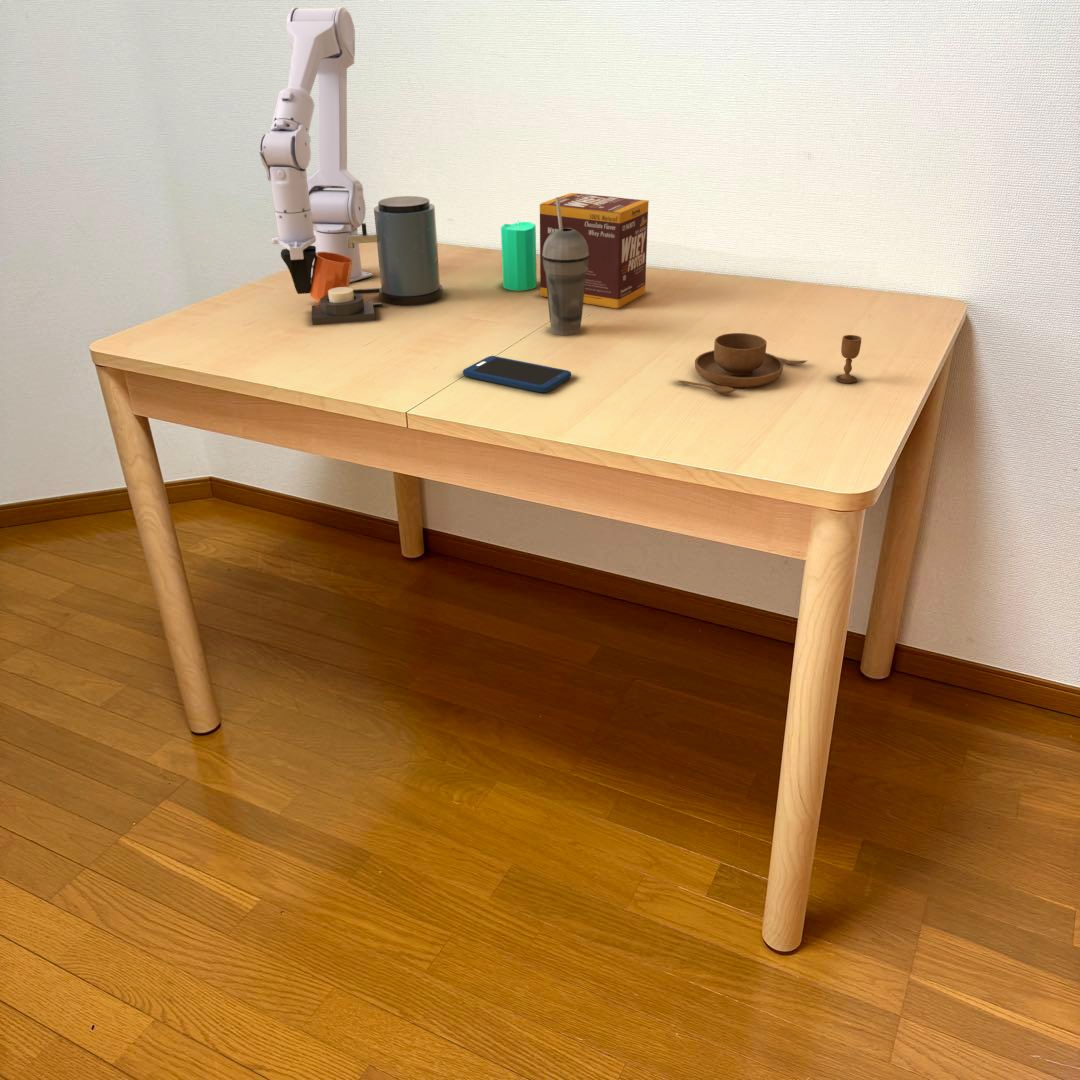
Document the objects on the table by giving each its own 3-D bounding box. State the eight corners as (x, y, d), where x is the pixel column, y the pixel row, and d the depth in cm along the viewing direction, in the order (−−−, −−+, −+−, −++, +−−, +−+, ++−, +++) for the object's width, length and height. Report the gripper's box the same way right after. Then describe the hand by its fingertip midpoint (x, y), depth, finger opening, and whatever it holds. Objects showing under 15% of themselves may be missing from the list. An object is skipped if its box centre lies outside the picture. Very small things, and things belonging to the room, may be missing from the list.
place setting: (733, 348, 149) (736, 309, 146) (862, 378, 138) (868, 336, 135) (667, 383, 138) (669, 341, 135) (802, 418, 127) (807, 373, 124)
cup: (301, 292, 172) (307, 251, 169) (329, 291, 177) (335, 251, 174) (326, 304, 169) (332, 263, 166) (353, 303, 174) (360, 262, 171)
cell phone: (490, 359, 147) (490, 354, 146) (573, 376, 140) (573, 371, 140) (460, 375, 141) (460, 370, 141) (545, 393, 135) (545, 388, 134)
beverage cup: (585, 339, 154) (585, 203, 144) (538, 337, 156) (535, 202, 146) (592, 324, 160) (593, 193, 151) (547, 322, 162) (545, 191, 152)
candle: (538, 281, 183) (537, 212, 177) (534, 290, 177) (533, 220, 172) (505, 281, 183) (502, 212, 177) (500, 290, 178) (498, 220, 172)
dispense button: (329, 305, 163) (328, 294, 162) (329, 298, 167) (327, 287, 166) (354, 303, 164) (353, 292, 163) (353, 296, 167) (352, 286, 166)
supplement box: (619, 309, 167) (621, 211, 159) (539, 296, 174) (537, 202, 167) (647, 293, 175) (650, 199, 167) (569, 281, 182) (569, 191, 174)
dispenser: (330, 311, 169) (318, 212, 161) (330, 293, 178) (318, 199, 170) (446, 303, 172) (439, 205, 164) (439, 286, 181) (433, 193, 173)
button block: (312, 325, 163) (310, 306, 161) (312, 312, 169) (310, 294, 167) (375, 320, 164) (373, 302, 163) (373, 308, 170) (371, 290, 169)
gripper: (269, 202, 171) (281, 282, 177) (265, 220, 158) (278, 306, 165) (312, 199, 172) (322, 280, 178) (311, 217, 159) (322, 303, 166)
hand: (303, 292), depth 172 cm, fingers closed, pressing on cup
